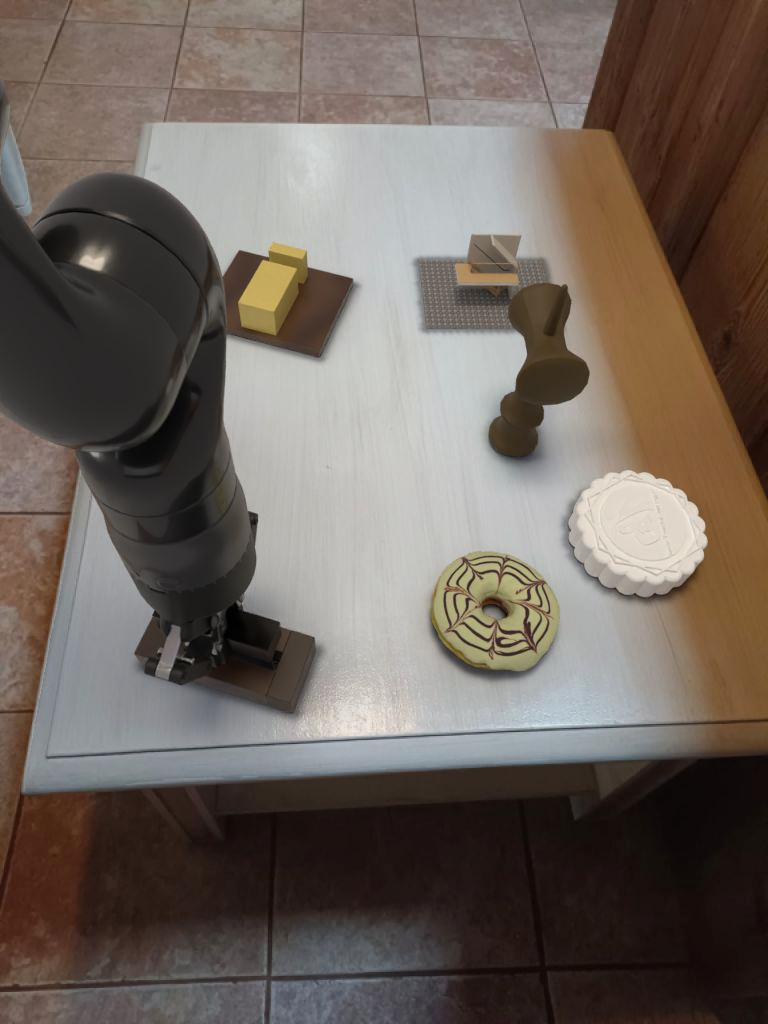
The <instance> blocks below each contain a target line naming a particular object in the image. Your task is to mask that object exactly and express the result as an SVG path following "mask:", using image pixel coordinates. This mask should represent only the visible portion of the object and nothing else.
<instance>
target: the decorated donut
mask: <svg viewBox="0 0 768 1024" xmlns="http://www.w3.org/2000/svg"><path fill="white" fill-rule="evenodd" d="M489 604H492V605H496V606H499V607H500V608H502V609H503V611H504V612H505V614H506V617H503V618H499V619H496V618H494V617H492V616H488V615H486V614H485V613H484V611H483V607H484V605H489ZM430 618H431V623H432V625H433V627H434V629H435V630H436V632H437V635H438V638H439V639H440V641H441V642H442V643H443V645H444V646H445V647H446V648H448V650H450V651H451V652H452V654H454V655H455V656H456V657H457V658H459V659H460V660H462V661H463V662H465V663H466V664H468V665H470V666H471V667H475V668H479V669H482V670H490V671H512V672H525V671H528V670H529V669H531V668H532V667H534V666H535V665H536V664H537V663H538V662H539V661H540V660H541V658H542V657H543V656H544V655H545V654H546V653H547V652H548V651H549V649H550V647H551V645H552V644H553V641H554V640H555V638H556V635H557V633H558V629H559V623H560V620H561V619H560V618H561V608H560V604H559V600H558V599H557V595H556V594H555V592H554V591H553V589H552V588H551V586H550V584H549V583H548V582H547V581H546V580H545V578H544V577H543V576H542V574H540V573H539V571H537V570H536V569H535V568H534V567H533V566H531V565H529V564H528V563H526V562H525V561H523V560H521V559H520V558H517V557H515V556H513V555H510V554H507V553H501V552H497V551H489V550H488V551H486V550H485V551H484V550H483V551H482V550H479V551H478V550H477V551H473V552H469V553H468V554H466V555H463V556H461V557H458V558H456V559H455V560H453V561H452V562H451V563H449V564H448V565H446V567H445V568H444V570H443V571H442V572H441V574H440V575H439V577H438V579H437V582H436V583H435V587H434V591H433V593H432V597H431V602H430Z"/></svg>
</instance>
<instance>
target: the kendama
mask: <svg viewBox="0 0 768 1024" xmlns="http://www.w3.org/2000/svg"><path fill="white" fill-rule="evenodd" d="M571 306H572V298H571V296H570V293H569V287H568V285H567V284H566V283H563V284H562V285H559V284H555V283H551V282H547V283H539V284H532V285H530V286H527V287H525V288H522V289H521V290H520V291H519V292H518V293H517V294H515V295H514V296H513V298H512V300H511V302H510V304H509V307H508V319H509V321H510V323H511V325H512V326H513V328H514V330H515V331H516V332H517V333H519V335H520V336H522V337H523V340H524V344H525V350H526V357H525V359H524V362H523V364H522V366H521V368H520V370H519V371H518V373H517V375H516V376H515V386H514V387H515V388H514V390H513V391H511V392H508V393H507V394H504V395H503V397H502V398H501V401H500V404H499V412H500V415H499V416H497V417H495V418H493V419H492V421H491V423H490V425H489V428H488V438H489V441H490V444H491V445H492V447H493V448H494V449H495V451H497V452H499V453H501V454H502V455H505V456H509V457H515V458H516V457H523V456H527V455H529V454H531V453H533V452H534V451H535V449H536V448H537V446H538V444H539V432H538V429H537V428H538V427H540V426H541V425H542V424H543V421H544V419H545V409H544V406H555V405H560V404H564V403H567V402H570V401H572V400H574V399H575V398H576V397H578V396H580V394H582V392H583V391H584V389H585V388H586V387H587V385H588V384H589V379H590V373H591V371H590V369H589V365H588V364H587V362H586V360H584V359H583V358H582V357H580V356H578V355H576V354H575V353H573V352H572V351H570V350H569V349H568V346H567V343H566V338H565V327H566V324H567V322H568V319H569V316H570V314H571V309H572V307H571Z"/></svg>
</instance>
